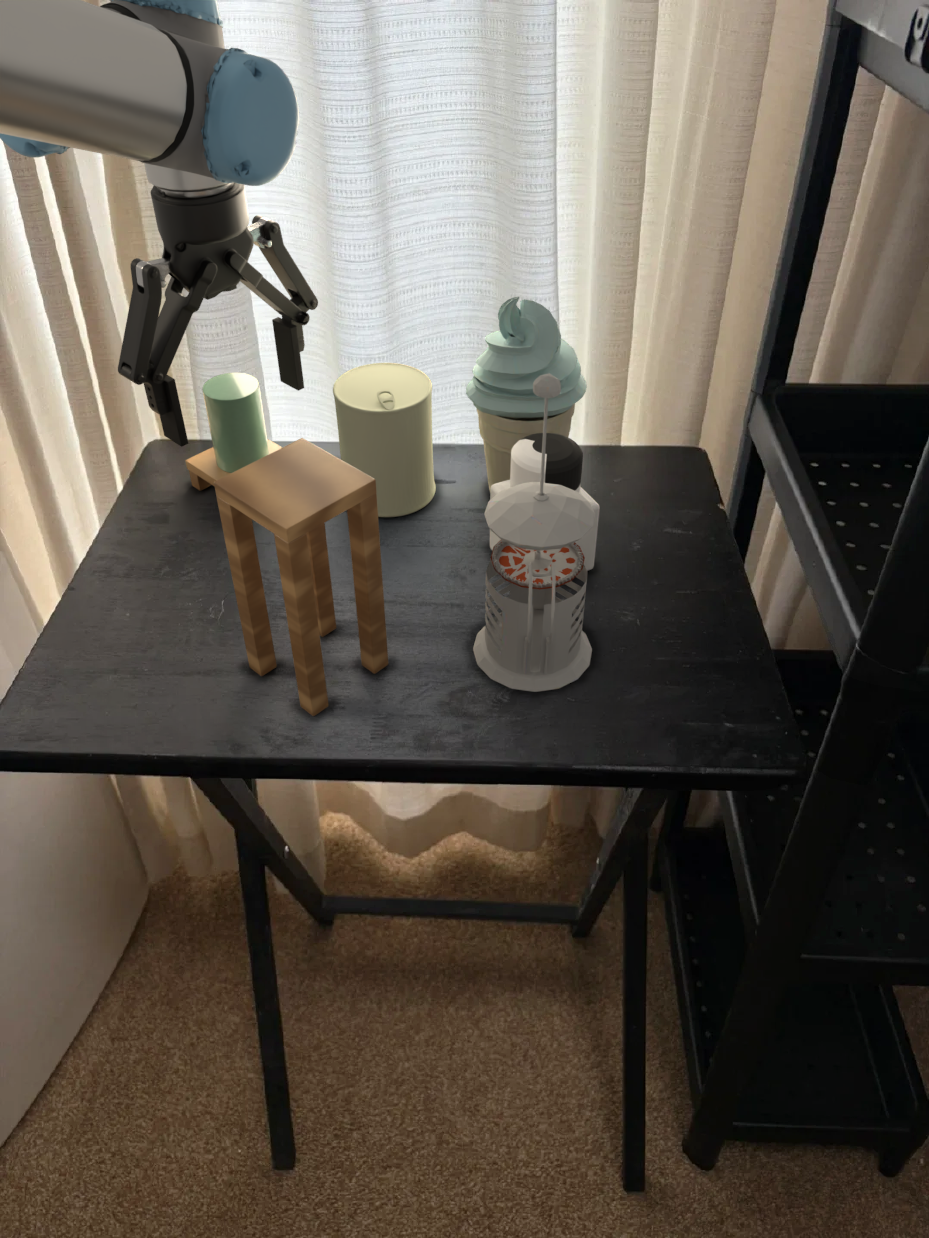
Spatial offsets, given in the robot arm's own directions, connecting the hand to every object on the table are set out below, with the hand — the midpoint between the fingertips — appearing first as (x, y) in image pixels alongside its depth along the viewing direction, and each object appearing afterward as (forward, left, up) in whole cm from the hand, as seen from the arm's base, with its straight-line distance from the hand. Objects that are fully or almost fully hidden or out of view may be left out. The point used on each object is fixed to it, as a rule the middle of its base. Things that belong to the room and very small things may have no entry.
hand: (236, 411), depth 99 cm
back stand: (0, 0, -8) cm, 8 cm away
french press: (+1, -37, -8) cm, 38 cm away
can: (+9, -11, -8) cm, 16 cm away
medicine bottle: (+11, -29, -8) cm, 32 cm away
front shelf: (-12, -25, -8) cm, 29 cm away
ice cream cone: (+18, -20, -8) cm, 28 cm away
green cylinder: (0, 0, -5) cm, 5 cm away
